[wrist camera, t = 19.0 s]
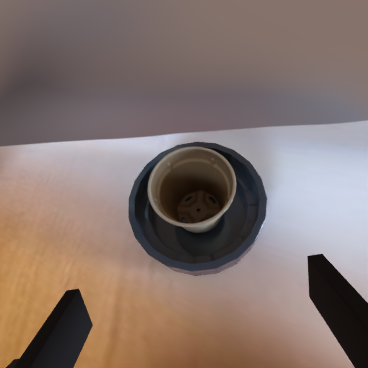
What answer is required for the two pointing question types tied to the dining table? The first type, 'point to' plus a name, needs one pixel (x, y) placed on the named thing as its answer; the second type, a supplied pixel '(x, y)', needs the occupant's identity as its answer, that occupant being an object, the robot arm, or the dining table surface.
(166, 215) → the flower pot
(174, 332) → the dining table surface
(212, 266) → the bowl
